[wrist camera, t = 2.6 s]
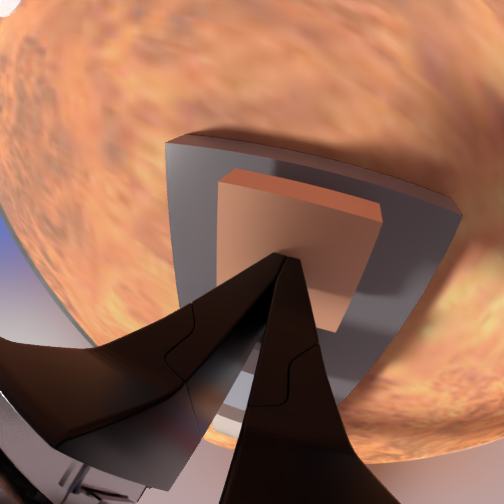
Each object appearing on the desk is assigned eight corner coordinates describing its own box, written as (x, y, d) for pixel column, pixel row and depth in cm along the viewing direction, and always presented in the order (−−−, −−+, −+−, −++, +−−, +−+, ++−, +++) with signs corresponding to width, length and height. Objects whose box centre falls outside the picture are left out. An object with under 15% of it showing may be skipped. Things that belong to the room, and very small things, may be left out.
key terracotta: (342, 290, 11) (335, 332, 9) (239, 260, 12) (216, 296, 10) (377, 190, 8) (382, 222, 6) (247, 158, 9) (217, 181, 7)
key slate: (299, 389, 14) (288, 424, 13) (225, 365, 15) (209, 397, 13) (321, 347, 12) (311, 391, 10) (226, 318, 13) (205, 357, 11)
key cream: (279, 424, 18) (270, 449, 17) (224, 406, 19) (213, 429, 18) (290, 404, 16) (280, 435, 14) (225, 383, 17) (211, 412, 15)
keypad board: (323, 408, 20) (320, 424, 19) (201, 369, 22) (193, 383, 21) (451, 198, 8) (462, 215, 7) (185, 134, 11) (165, 142, 10)
